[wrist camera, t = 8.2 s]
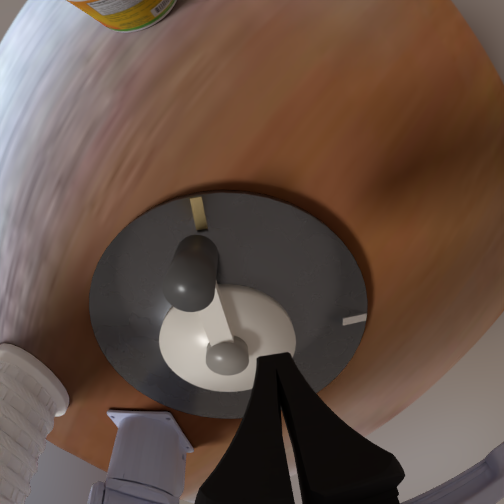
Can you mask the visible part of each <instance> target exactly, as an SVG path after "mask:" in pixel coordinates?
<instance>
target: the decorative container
mask: <svg viewBox="0 0 504 504" xmlns="http://www.w3.org/2000/svg"><path fill="white" fill-rule="evenodd" d="M68 405H69V396H68V393H67V391H66V389H65V387H64V386H63V384H62V383H61V381H60V380H59V379H58V378H57V377H56V376H55V375H54V373H53V372H52V371H51V370H50V369H49V368H48V367H46V366H45V365H44V364H43V363H42V362H41V361H40V360H38V359H37V358H36V357H34V356H33V355H32V354H30V353H28V352H27V351H25V350H23V349H22V348H20V347H17V346H15V345H12V344H6V343H3V344H0V504H24V502H25V498H26V497H28V495H29V494H30V492H31V489H30V487H31V486H30V485H29V484H30V481H31V478H32V476H33V475H35V473H36V472H37V469H38V463H37V460H38V458H39V455H40V454H42V452H43V451H44V450H45V444H46V441H45V439H46V436H47V434H49V433H50V432H51V430H52V429H53V425H54V417H55V416H61V415H64V414H65V412H66V410H67V408H68Z"/></svg>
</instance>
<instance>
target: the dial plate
mask: <svg viewBox="0 0 504 504" xmlns="http://www.w3.org/2000/svg"><path fill="white" fill-rule="evenodd" d="M191 235H202V236H205V237H207V238H209V239H210V240H211V241H212V242H213V243H214V244H215V245H216V247H217V250H218V263H217V274H216V281H217V284H234V285H242V286H247V287H250V288H254V289H257V290H259V291H261V292H264V293H266V294H267V295H269V296H271V297H272V298H274V299H275V300H276V301H277V302H278V303H280V305H281V306H282V307H283V308H284V309H285V310H286V312H287V313H288V315H289V317H290V319H291V322H292V325H293V329H294V332H295V336H296V347H295V352H294V355H293V360H294V362H295V364H296V366H297V367H298V369H299V371H300V372H301V374H302V375H303V377H304V378H305V380H306V381H307V382H308V384H309V385H310V386H311V388H312V389H313V390H314V391H315V393H317V392H319V391H320V390H321V389H323V388H324V387H326V386H327V385H328V384H329V383H330V382H331V381H332V380H334V379H335V378H336V377H337V376H338V375H339V373H340V372H341V371H342V370H343V369H344V368H345V367H346V365H347V364H348V362H349V361H350V359H351V358H352V357H353V355H354V353H355V351H356V349H357V347H358V345H359V343H360V341H361V338H362V335H363V332H364V329H365V324H366V319H367V294H366V287H365V283H364V280H363V277H362V274H361V271H360V269H359V267H358V265H357V263H356V261H355V259H354V257H353V255H352V254H351V253H350V251H349V250H348V249H347V247H346V246H345V245H344V243H343V242H342V241H341V240H340V239H339V237H338V236H337V235H336V234H335V233H334V232H333V231H332V230H331V229H329V228H328V227H327V226H326V225H325V224H324V223H323V222H322V221H320V220H319V219H317V218H316V217H315V216H313V215H312V214H310V213H309V212H307V211H305V210H303V209H301V208H299V207H297V206H295V205H293V204H291V203H289V202H287V201H284V200H281V199H278V198H275V197H272V196H269V195H265V194H260V193H254V192H249V191H240V190H213V191H203V192H196V193H192V194H188V195H184V196H180V197H176V198H173V199H171V200H168V201H166V202H164V203H161V204H159V205H156V206H155V207H153V208H151V209H150V210H148V211H146V212H145V213H143V214H141V215H140V216H138V217H137V218H136V219H134V220H133V221H132V222H131V223H130V224H129V225H127V226H126V227H125V228H124V229H123V230H122V231H121V232H120V233H119V234H118V235H117V236H116V238H115V239H114V240H113V241H112V242H111V243H110V245H109V246H108V247H107V248H106V250H105V252H104V253H103V255H102V257H101V259H100V260H99V262H98V264H97V267H96V270H95V272H94V275H93V278H92V283H91V288H90V293H89V311H90V318H91V324H92V327H93V331H94V334H95V337H96V339H97V341H98V344H99V346H100V348H101V350H102V352H103V353H104V355H105V356H106V358H107V360H108V361H109V362H110V364H111V365H112V366H113V367H114V369H115V370H116V371H117V372H118V373H119V374H120V375H121V376H122V377H123V378H124V379H125V380H126V381H127V382H128V383H129V384H131V385H132V386H133V387H134V388H136V389H137V390H138V391H140V392H141V393H143V394H144V395H146V396H148V397H149V398H151V399H153V400H155V401H157V402H159V403H161V404H163V405H165V406H168V407H170V408H173V409H175V410H178V411H182V412H185V413H189V414H193V415H198V416H203V417H211V418H229V419H235V418H243V416H244V414H245V411H246V408H247V405H248V402H249V399H250V396H251V392H252V389H249V390H244V391H237V392H220V391H213V390H208V389H204V388H201V387H198V386H195V385H193V384H191V383H189V382H187V381H185V380H184V379H182V378H181V377H179V376H178V375H177V374H176V373H175V372H174V371H172V369H171V368H170V367H169V366H168V365H167V363H166V362H165V360H164V358H163V356H162V354H161V350H160V346H159V335H160V330H161V327H162V323H163V320H164V318H165V315H166V313H167V312H168V310H169V309H170V307H171V306H172V305H171V304H170V303H169V302H168V301H167V300H166V298H165V296H164V294H163V289H162V286H163V281H164V278H165V276H166V273H167V271H168V268H169V266H170V264H171V261H172V259H173V256H174V254H175V252H176V249H177V247H178V245H179V243H180V242H181V241H182V240H183V239H184V238H186V237H188V236H191ZM280 407H281V405H280ZM281 410H282V409H281Z"/></svg>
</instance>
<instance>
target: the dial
mask: <svg viewBox="0 0 504 504" xmlns="http://www.w3.org/2000/svg"><path fill="white" fill-rule="evenodd" d="M217 263H218V250H217V247H216V245H215V244H214V243H213V242H212V241H211V240H210V239H209V238H207V237H205V236H202V235H191V236H188V237H186V238H184V239H183V240H182V241H181V242H180V243H179V245H178V247H177V249H176V252H175V254H174V256H173V259H172V261H171V264H170V266H169V268H168V271H167V273H166V276H165V278H164V281H163V286H162V289H163V294H164V296H165V298H166V300H167V301H168V302H169V303H170V304H171V305H172V306H171V307H170V309H169V310H168V312H167V313H166V315H165V318H164V320H163V323H162V327H161V330H160V335H159V346H160V350H161V354H162V356H163V358H164V360H165V362H166V363H167V365H168V366H169V367H170V368H171V369H172V371H174V372H175V373H176V374H177V375H178V376H179V377H181V378H182V379H184V380H185V381H187V382H189V383H191V384H193V385H195V386H198V387H201V388H204V389H208V390H213V391H220V392H237V391H244V390H249V389H252V388H253V384H254V379H255V373H256V359H257V358H258V357H259V356H265V355H272V354H278V353H284V352H289V353H290V354H291V356H292V358H293V355H294V352H295V347H296V336H295V332H294V329H293V325H292V322H291V319H290V317H289V315H288V313H287V312H286V310H285V309H284V308H283V307H282V306H281V305H280V303H278V302H277V301H276V300H275V299H274V298H272V297H271V296H269V295H267V294H266V293H264V292H261V291H259V290H257V289H254V288H250V287H247V286H242V285H234V284H217V281H216V274H217Z"/></svg>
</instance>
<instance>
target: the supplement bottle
mask: <svg viewBox="0 0 504 504" xmlns="http://www.w3.org/2000/svg"><path fill="white" fill-rule="evenodd" d="M67 1H68V2H70V3H71V4H73V5H75V6H76V7H78V8H79V9H81V10H82V11H84V12H85V13H87V14H88V15H90V16H91V17H93V18H94V19H96V20H97V21H99V22H100V23H102V24H103V25H104V26H106V27H108V28H109V29H111V30H113V31H117V32H123V33H129V32H136V31H140V30H143V29H146V28H148V27H150V26H152V25H154V24H156V23H157V22H159V21H160V20H161V19H163V18H164V17H165V16H166V15H167V14H168V13H169V12H170V11H171V10H172V8H173V7H174V5H175V3H176V1H177V0H67Z"/></svg>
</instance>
